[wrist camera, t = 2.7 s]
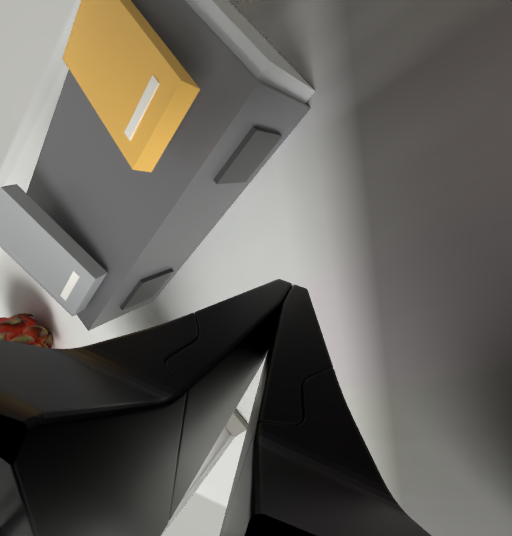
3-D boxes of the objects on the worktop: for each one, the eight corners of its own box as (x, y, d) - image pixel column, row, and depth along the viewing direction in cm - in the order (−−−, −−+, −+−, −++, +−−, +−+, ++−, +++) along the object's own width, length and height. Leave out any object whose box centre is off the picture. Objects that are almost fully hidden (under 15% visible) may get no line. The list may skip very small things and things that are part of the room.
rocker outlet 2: (200, 89, 13) (179, 80, 12) (151, 172, 15) (131, 169, 14) (113, -22, 15) (91, -36, 14) (82, 65, 17) (61, 57, 17)
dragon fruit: (83, 324, 39) (54, 341, 47) (8, 287, 35) (-11, 312, 43) (40, 397, 34) (15, 402, 42) (-54, 363, 30) (-62, 376, 37)
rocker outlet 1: (107, 272, 21) (94, 279, 20) (84, 309, 23) (71, 317, 22) (16, 184, 21) (-1, 187, 20) (2, 229, 23) (-14, 234, 22)
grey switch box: (323, 99, 18) (276, 70, 13) (151, 308, 30) (87, 339, 24) (210, -19, 20) (123, -91, 14) (86, 224, 31) (11, 236, 26)
